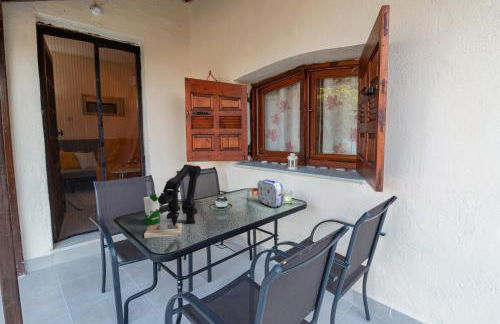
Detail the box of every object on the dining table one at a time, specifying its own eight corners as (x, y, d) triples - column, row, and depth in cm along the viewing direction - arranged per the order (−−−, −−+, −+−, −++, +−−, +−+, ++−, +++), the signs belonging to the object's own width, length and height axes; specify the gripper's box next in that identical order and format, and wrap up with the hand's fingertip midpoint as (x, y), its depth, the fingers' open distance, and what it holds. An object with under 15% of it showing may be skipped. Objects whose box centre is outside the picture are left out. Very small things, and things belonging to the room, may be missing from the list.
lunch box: (285, 207, 203) (286, 181, 201) (275, 210, 197) (276, 182, 195) (265, 200, 226) (265, 176, 223) (256, 202, 220) (256, 177, 218)
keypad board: (149, 229, 157) (149, 225, 157) (182, 226, 161) (181, 223, 161) (144, 238, 144) (144, 233, 143) (180, 235, 147) (180, 231, 147)
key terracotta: (151, 231, 153) (150, 225, 152) (158, 230, 153) (157, 225, 153) (149, 233, 149) (149, 228, 148) (156, 233, 150) (156, 227, 149)
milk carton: (150, 226, 162) (148, 196, 160) (143, 223, 168) (141, 194, 165) (162, 222, 169) (161, 194, 166) (155, 220, 174) (153, 192, 172)
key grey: (161, 228, 154) (161, 222, 153) (168, 227, 154) (167, 222, 154) (160, 230, 150) (160, 225, 149) (167, 229, 151) (166, 224, 150)
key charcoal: (171, 229, 155) (171, 224, 155) (178, 229, 156) (177, 224, 155) (170, 232, 151) (170, 226, 151) (177, 231, 152) (177, 226, 151)
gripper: (161, 197, 159) (162, 221, 161) (156, 205, 141) (158, 232, 142) (179, 196, 161) (180, 220, 163) (177, 204, 143) (178, 230, 145)
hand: (174, 225), depth 153 cm, fingers closed, pressing on key charcoal
